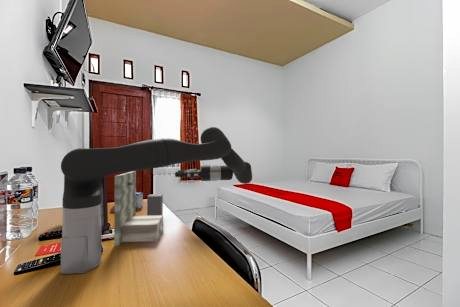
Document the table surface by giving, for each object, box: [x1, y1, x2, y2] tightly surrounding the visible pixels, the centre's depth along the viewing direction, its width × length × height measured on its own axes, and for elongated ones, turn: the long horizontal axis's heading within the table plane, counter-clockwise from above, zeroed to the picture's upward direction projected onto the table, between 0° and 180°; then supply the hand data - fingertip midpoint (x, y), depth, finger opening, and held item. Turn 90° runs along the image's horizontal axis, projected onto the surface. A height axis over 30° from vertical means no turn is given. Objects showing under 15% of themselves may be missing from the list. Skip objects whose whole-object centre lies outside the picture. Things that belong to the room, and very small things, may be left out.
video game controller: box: [109, 204, 115, 213], centre depth 117 cm, size 10×5×7 cm, turn 47°
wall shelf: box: [113, 170, 164, 247], centre depth 86 cm, size 18×14×24 cm
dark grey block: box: [146, 193, 164, 216], centre depth 104 cm, size 4×6×12 cm
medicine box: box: [136, 192, 144, 210], centre depth 127 cm, size 8×4×9 cm, turn 81°
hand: (176, 173), depth 106 cm, fingers open, 8 cm apart
